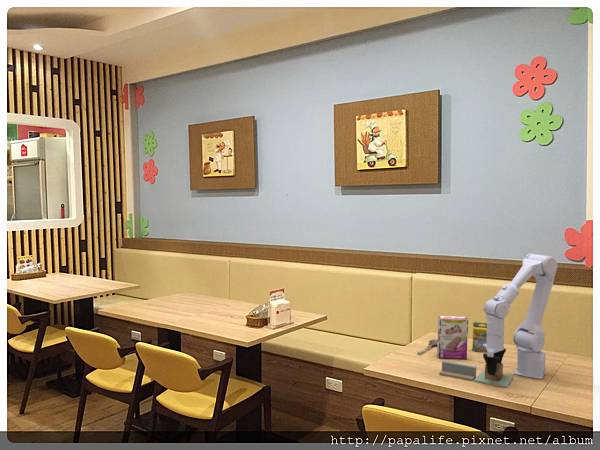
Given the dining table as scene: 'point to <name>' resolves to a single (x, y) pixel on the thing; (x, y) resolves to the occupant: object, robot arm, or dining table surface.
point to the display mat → (503, 382)
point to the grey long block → (458, 371)
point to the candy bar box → (452, 337)
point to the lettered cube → (497, 375)
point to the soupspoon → (432, 342)
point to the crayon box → (479, 337)
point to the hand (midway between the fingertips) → (494, 371)
